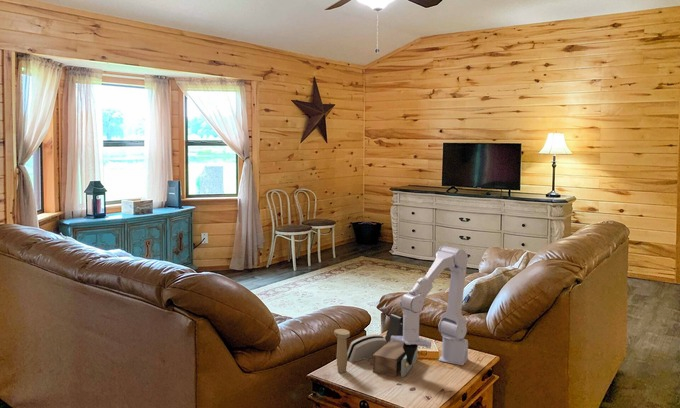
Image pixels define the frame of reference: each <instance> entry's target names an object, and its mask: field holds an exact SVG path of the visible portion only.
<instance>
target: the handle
mask: <svg viewBox="0 0 680 408" xmlns="http://www.w3.org/2000/svg"><path fill="white" fill-rule="evenodd" d="M333 330H334V331H333V333H334V336H335V337H336V339H337V345H336V346H337V347H336V368H337V372H338V373H341V374H343V373H346V372H347V367H348V359H347V352H348V347H347V346H348V345H347V343H348V341H347V339H348V338H350V337H351V333H350V331H349V330H348V329H344V328H336V329H333Z"/></svg>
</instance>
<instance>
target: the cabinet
mask: <svg viewBox="0 0 680 408" xmlns="http://www.w3.org/2000/svg"><path fill="white" fill-rule="evenodd" d="M403 345H404V343H397V342H391V340H390V341H389V342H388V343H387V344H385V345H384V346H383V347H382V348H380V349H379V350H378V351H377V352H376V353H374V354H373V357H372V373H374V374H375V373H376V374H381V375H385V376H390V377H394V378H396V377H397V376H398V375H400V374H401V360H402V359H403V358H404V357H405V355H406V353H405V351H404V349H403Z"/></svg>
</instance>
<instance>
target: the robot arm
mask: <svg viewBox="0 0 680 408" xmlns="http://www.w3.org/2000/svg"><path fill="white" fill-rule="evenodd" d="M437 250H438V251H436V252H435V260H434V261H433V262H432V264H431V266H430V267H429V269H428V271H427V273H426V274H425V276H424V277H422V276H421V277H419V278H418V279H417V280H416V282H415V284H414V285H413V286H412V288H411V289H410V290H409V292H407V293H404V294H403V295H402V296H401V298H400V301H399V306H400V307H401V312H402V317H403V336H393V335H392V336H391V342H397V343H404V345H403V349H404V351H405V353H406V356H407V359H408V363H409V365H411V364H412V361H413V357H414V354H415V351H416V349H417V347H424V348H425V347H426V348H427V349H431V347H432V340H427V339H423V338H421V337H420V311H421V310H423V307H424V303H425V299H426V298H427V296H428V294H429V293H430V292H431V291H432V289H433V287H434V286H433V282H434V281H435V280H436V279H437V278H438V277H439V276H440V275H441V273H442V272H443V271H444V270H445V269H449V270H450V281H449V289H448V296H447V307H446V311H445V312H443V313H442V314H441V315H440V320H439V322H438V332H439V333H440V335H441V337H442V342H441V343H442V347H441V348H442V351H441V356H440V357H439V358H438V361H439V362H442V363H443V362H444V363H449V364H453V365H459V366H464V365H465V363H466V362H467V361H468V359H469V354H468V353H469V341H468V339H465V336H466V334H467V332H468V330H467V319H466V318H465V316H464V315H463V314H462V308H463V307H462V306H463V299H464V293H465V292H464V291H465V282H466V281H465V280H466V274H467V267H468V265H467V264H468V257H469V254H468V253H467V252H466V250H464V249H462V248H455V247H450V246H447V245H442V246H440V247H439V248H438V249H437ZM417 350H418V349H417Z"/></svg>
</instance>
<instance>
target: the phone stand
mask: <svg viewBox="0 0 680 408" xmlns="http://www.w3.org/2000/svg"><path fill="white" fill-rule="evenodd" d="M392 335H393V336H403V315H399V314H396V313H391V314H390V315H389V323H388V327H387V331H386V333H385V340H386V341H387V342H386V344H387V343H388V342H389V341H390V340H391V336H392Z"/></svg>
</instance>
